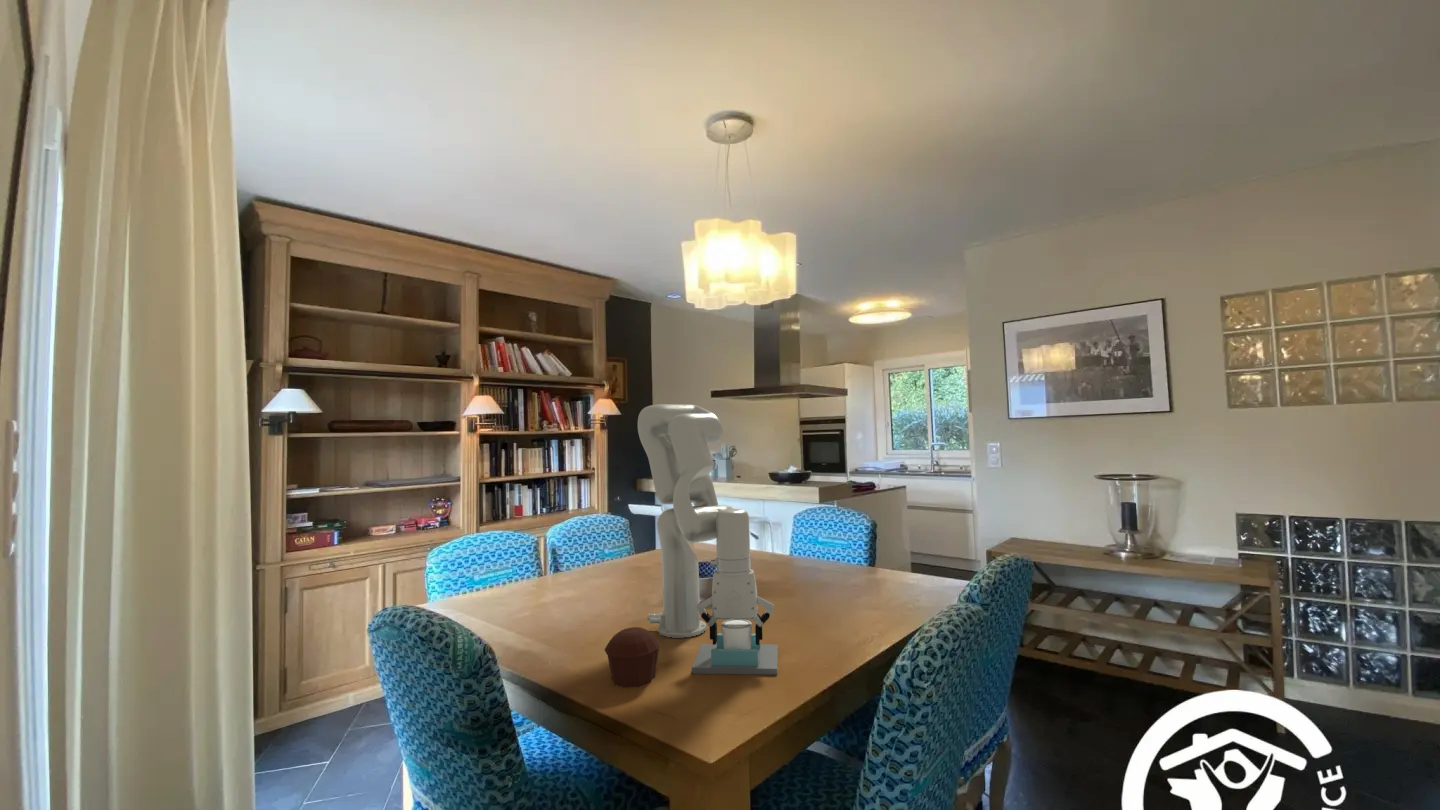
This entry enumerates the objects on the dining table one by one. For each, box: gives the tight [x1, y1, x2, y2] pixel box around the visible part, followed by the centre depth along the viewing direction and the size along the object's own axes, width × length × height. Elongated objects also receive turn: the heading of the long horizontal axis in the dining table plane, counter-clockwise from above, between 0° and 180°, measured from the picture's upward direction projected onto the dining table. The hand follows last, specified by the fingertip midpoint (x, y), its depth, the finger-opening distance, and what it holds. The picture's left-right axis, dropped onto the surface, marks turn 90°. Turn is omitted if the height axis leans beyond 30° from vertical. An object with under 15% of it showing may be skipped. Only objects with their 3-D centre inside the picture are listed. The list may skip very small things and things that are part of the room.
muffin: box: [604, 626, 661, 689], centre depth 121 cm, size 12×11×10 cm
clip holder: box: [691, 632, 779, 676], centre depth 129 cm, size 18×14×4 cm
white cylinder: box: [720, 619, 753, 649], centre depth 129 cm, size 7×7×7 cm
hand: (736, 642), depth 129 cm, fingers open, 9 cm apart
